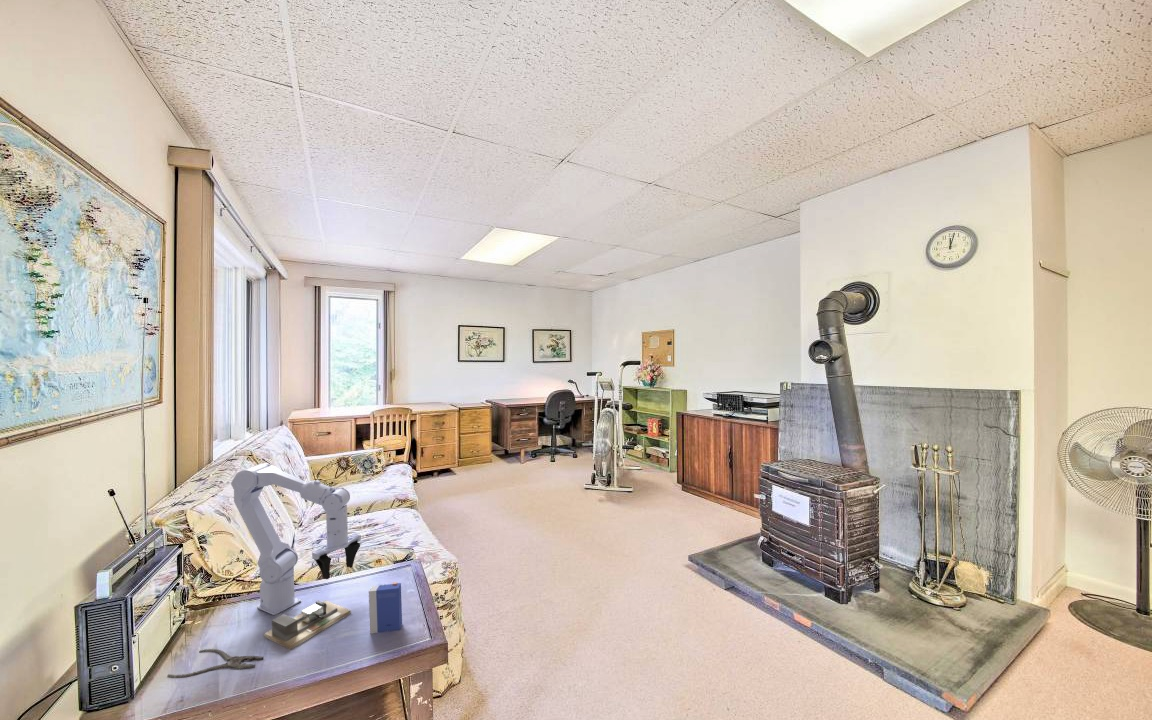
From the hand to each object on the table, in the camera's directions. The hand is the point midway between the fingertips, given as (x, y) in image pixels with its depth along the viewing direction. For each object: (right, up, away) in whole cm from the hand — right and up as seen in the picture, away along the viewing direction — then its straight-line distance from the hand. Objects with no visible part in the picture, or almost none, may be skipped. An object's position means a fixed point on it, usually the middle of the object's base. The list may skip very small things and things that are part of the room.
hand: (338, 572), depth 132 cm
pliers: (-15, -10, -25) cm, 31 cm away
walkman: (+22, -9, -14) cm, 27 cm away
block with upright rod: (0, -8, -11) cm, 13 cm away
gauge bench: (-2, -9, -12) cm, 15 cm away
